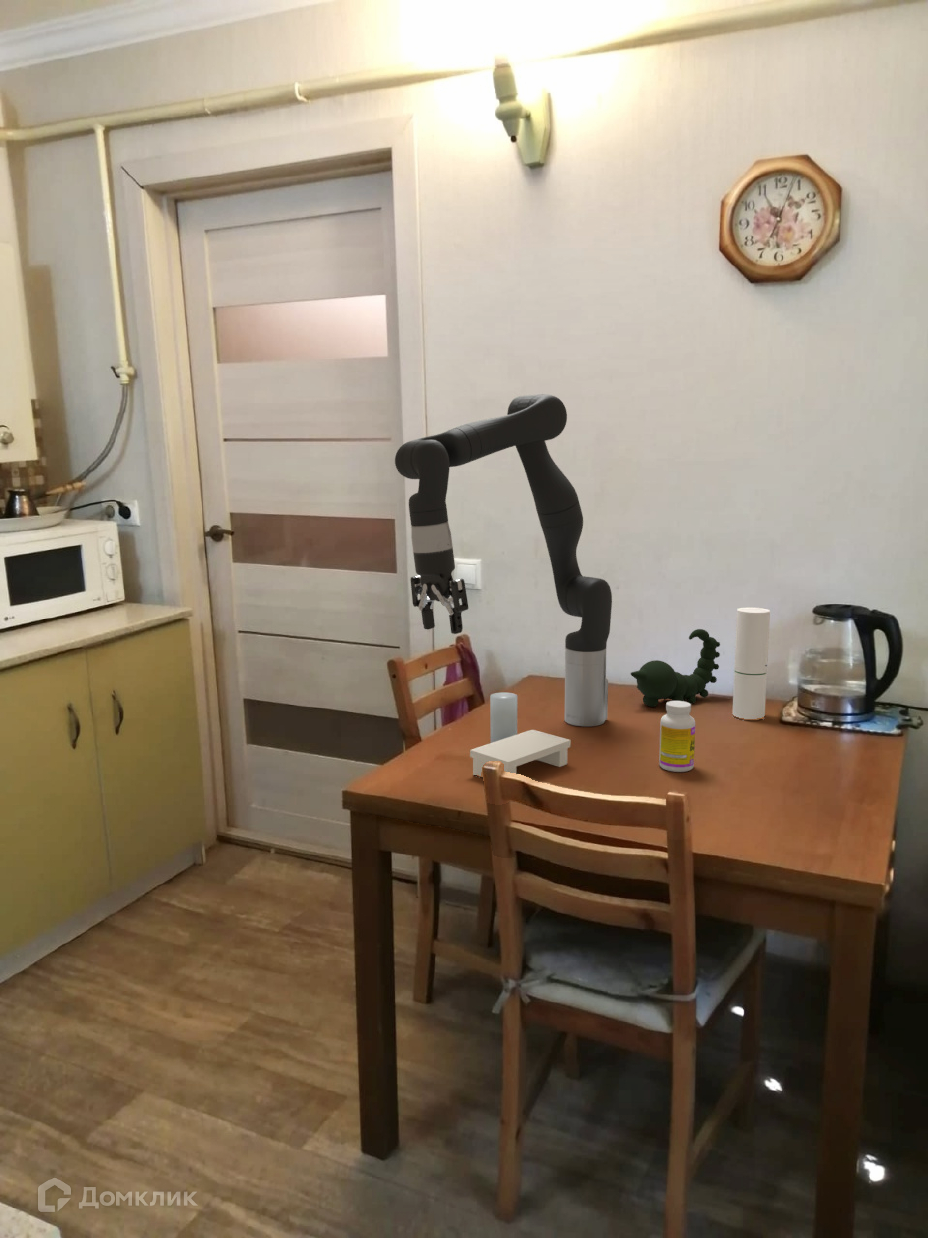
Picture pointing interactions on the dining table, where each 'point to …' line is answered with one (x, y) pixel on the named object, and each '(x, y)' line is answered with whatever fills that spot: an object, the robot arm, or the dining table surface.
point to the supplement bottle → (677, 737)
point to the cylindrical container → (751, 662)
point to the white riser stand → (522, 751)
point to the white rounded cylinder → (503, 715)
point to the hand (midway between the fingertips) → (443, 630)
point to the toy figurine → (678, 675)
